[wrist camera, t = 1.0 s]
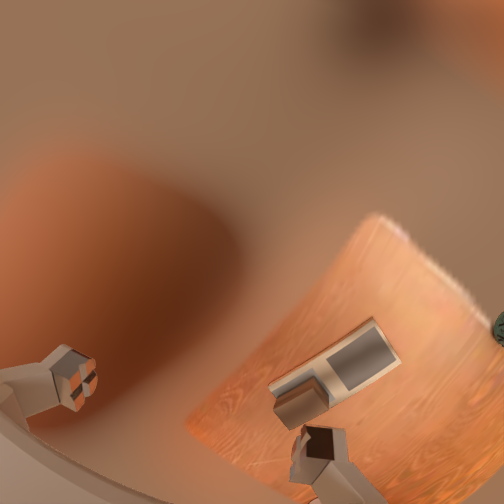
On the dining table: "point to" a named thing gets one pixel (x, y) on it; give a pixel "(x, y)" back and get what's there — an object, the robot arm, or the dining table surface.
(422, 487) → the dining table surface
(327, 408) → the block
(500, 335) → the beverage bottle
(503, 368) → the dining table surface
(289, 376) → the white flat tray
